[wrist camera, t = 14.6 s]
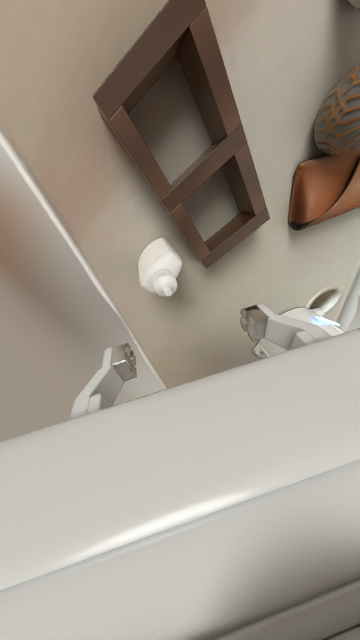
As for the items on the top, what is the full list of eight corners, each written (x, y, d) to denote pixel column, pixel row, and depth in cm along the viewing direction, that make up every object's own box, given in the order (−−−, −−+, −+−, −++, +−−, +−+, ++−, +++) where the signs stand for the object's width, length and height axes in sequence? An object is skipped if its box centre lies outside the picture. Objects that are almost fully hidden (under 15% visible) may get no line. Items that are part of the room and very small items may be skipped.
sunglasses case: (427, 104, 22) (476, 130, 20) (377, 166, 29) (410, 191, 27) (294, 164, 23) (327, 196, 21) (275, 211, 30) (298, 239, 27)
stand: (253, 214, 26) (270, 218, 23) (198, 259, 28) (206, 268, 25) (181, 11, 15) (195, -34, 12) (98, 112, 17) (92, 95, 14)
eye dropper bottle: (130, 246, 25) (131, 282, 16) (168, 234, 25) (191, 262, 16) (142, 274, 28) (148, 319, 18) (175, 263, 28) (199, 301, 18)
